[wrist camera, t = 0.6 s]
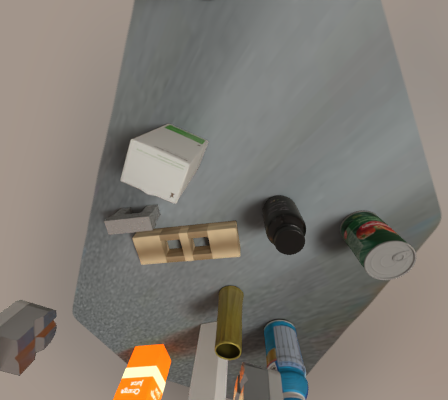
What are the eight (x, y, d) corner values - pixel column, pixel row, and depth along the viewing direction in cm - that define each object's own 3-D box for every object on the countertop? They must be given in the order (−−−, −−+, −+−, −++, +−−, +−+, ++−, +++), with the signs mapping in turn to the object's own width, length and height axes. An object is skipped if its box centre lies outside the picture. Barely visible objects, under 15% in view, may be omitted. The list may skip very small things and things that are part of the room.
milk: (200, 323, 64) (181, 428, 44) (222, 319, 63) (212, 425, 43) (209, 338, 66) (194, 445, 46) (229, 335, 65) (223, 443, 45)
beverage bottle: (290, 314, 61) (312, 410, 42) (299, 336, 64) (322, 435, 45) (258, 321, 62) (265, 416, 44) (268, 342, 65) (279, 439, 47)
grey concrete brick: (118, 207, 51) (103, 221, 46) (158, 202, 50) (148, 216, 45) (123, 219, 52) (109, 234, 47) (162, 215, 51) (152, 230, 46)
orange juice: (135, 346, 70) (97, 435, 52) (163, 343, 69) (134, 434, 50) (144, 363, 73) (111, 453, 55) (171, 361, 72) (147, 452, 53)
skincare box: (209, 140, 44) (194, 164, 30) (196, 172, 47) (177, 207, 33) (166, 121, 43) (129, 136, 29) (156, 154, 46) (118, 183, 32)
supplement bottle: (301, 216, 49) (318, 252, 38) (270, 229, 51) (278, 266, 40) (288, 188, 47) (302, 217, 36) (256, 202, 49) (260, 234, 38)
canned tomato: (348, 249, 52) (373, 287, 42) (333, 221, 49) (357, 254, 39) (386, 233, 49) (422, 269, 39) (372, 203, 47) (408, 233, 37)
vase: (240, 305, 60) (240, 364, 47) (216, 301, 60) (210, 358, 47) (245, 287, 58) (246, 344, 45) (220, 283, 58) (214, 338, 45)
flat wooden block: (137, 230, 53) (132, 238, 51) (236, 220, 51) (235, 227, 48) (146, 256, 56) (141, 264, 53) (240, 248, 53) (240, 256, 51)
